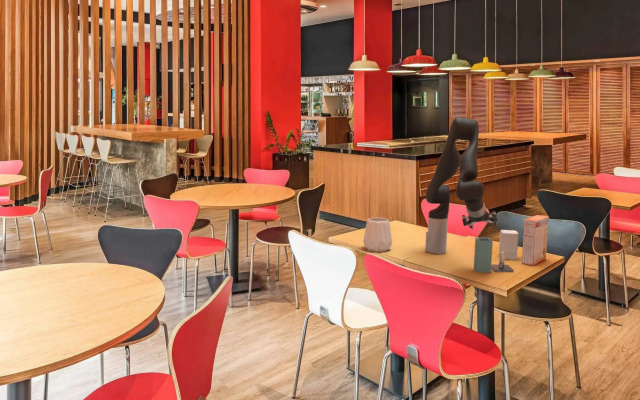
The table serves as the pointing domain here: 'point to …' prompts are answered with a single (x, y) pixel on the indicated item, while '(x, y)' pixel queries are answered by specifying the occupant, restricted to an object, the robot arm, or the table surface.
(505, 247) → the supplement box
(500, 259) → the plate
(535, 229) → the cracker box
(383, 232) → the vase
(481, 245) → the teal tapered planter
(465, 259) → the table surface
